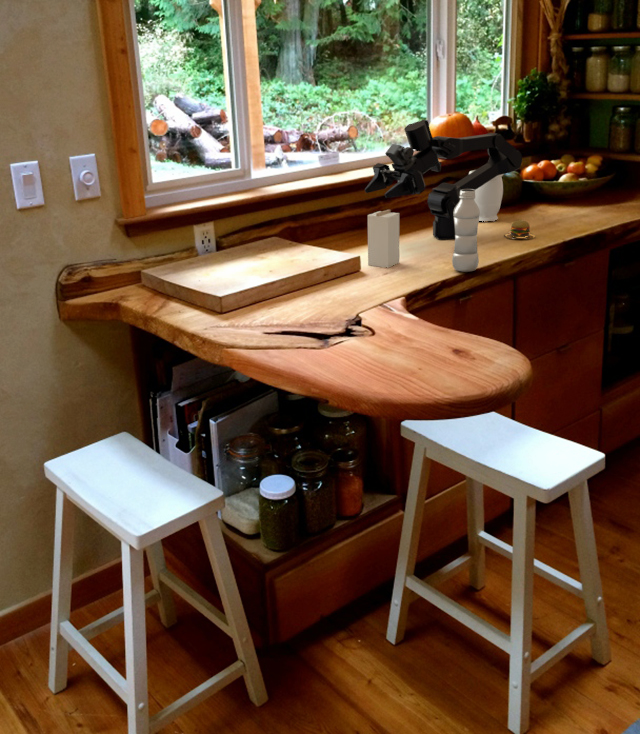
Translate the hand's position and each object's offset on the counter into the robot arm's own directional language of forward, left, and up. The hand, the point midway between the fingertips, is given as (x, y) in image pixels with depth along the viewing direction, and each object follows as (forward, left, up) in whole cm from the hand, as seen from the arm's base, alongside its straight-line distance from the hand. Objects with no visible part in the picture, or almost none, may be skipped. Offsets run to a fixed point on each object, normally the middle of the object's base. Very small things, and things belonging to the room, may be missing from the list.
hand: (375, 193), depth 220 cm
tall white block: (+1, +14, -16) cm, 21 cm away
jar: (-41, -29, -16) cm, 53 cm away
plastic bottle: (-17, +26, -16) cm, 35 cm away
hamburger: (-43, -4, -17) cm, 46 cm away
